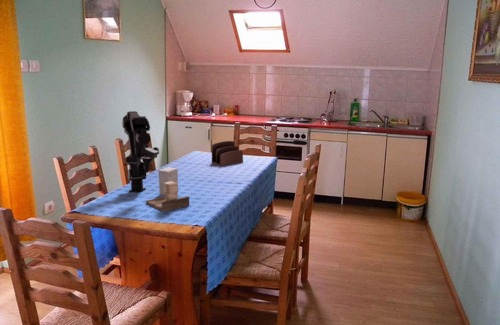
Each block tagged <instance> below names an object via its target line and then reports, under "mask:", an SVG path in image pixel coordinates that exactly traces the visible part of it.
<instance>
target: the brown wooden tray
mask: <svg viewBox="0 0 500 325" xmlns="http://www.w3.org/2000/svg"><path fill="white" fill-rule="evenodd" d="M145 202H146V204H148V205H149V206H150V207H153V208H155V209H157V210H160V211H161V212H164V213H165V212H168V211H172V210H176V209H181V208H183V207H184V208H185V207H188V206H190V196H188V195H187V196H186V195H185V196H181V197H178V198H177V199H173V200H169V201H165V196H162V197H161V196H160V197H157V198H152V199H149V200H146V201H145Z"/></svg>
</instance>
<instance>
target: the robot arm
mask: <svg viewBox="0 0 500 325" xmlns="http://www.w3.org/2000/svg"><path fill="white" fill-rule="evenodd" d="M121 125H122V128H123V130H124V133H125V135H127V137H128V144H129V153H130V155H128V156H126V157H125V164H127V165H128V166H129V167H128V171H127V179H128V181H130V187H131V189H129V190H128V192H132V193H141V192H143V191H145V190H146V187H144V180H146V179H147V174H148V173H149V172H150V168H151V164H152V162H153V161H154V160H155V159H156V158H157V159H158V155H160V149H159V147H157V146H155V147H150V145H149V143H150V142H151V135H150V134H149V133H148V132H149V131H150V129H151V125H150V121H149V119H148V118H147V116H145V115H144V116H143V115H142V116H141V115H139V112H138V111H135V110H133V111H130V110H129V111H126V114H125V115H124V116H123V117H122V124H121Z"/></svg>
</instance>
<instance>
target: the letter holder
mask: <svg viewBox="0 0 500 325" xmlns="http://www.w3.org/2000/svg"><path fill="white" fill-rule="evenodd" d="M243 155H244V152H243V150H242V149H241V150H240V147H239V146H238V145H236V142H235V140H234V141H233V140H226V141H220V142H215V143H213V144H212V145H211V164H213V165H216V166H220V167H222V166H227V165H232V164H237V163H243V162H244V156H243Z"/></svg>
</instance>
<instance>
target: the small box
mask: <svg viewBox="0 0 500 325" xmlns="http://www.w3.org/2000/svg"><path fill="white" fill-rule="evenodd" d="M178 176H179V173H178V168H176V167H172V166H171V167H169V166H167V167H164V168H162V169H159V170H158V184H159V185H158V189H159V195H161V196H165V189H164V183H165V182H170V181H172V182H175V183H177V186H178V187H179V177H178Z"/></svg>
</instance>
